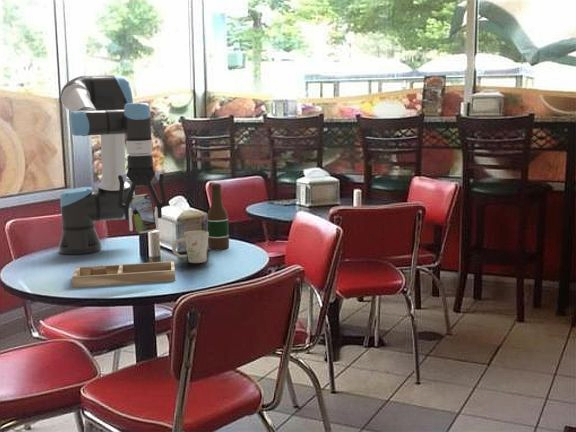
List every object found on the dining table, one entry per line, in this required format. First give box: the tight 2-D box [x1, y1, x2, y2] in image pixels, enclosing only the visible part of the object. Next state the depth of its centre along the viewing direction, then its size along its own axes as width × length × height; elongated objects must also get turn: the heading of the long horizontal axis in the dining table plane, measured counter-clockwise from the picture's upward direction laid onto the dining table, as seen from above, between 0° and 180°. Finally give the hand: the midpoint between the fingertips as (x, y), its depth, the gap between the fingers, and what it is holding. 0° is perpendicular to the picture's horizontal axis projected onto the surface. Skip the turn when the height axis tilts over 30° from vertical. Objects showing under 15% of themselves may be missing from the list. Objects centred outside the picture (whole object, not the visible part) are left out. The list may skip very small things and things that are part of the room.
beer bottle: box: [206, 183, 230, 251], centre depth 263 cm, size 8×8×24 cm
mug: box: [171, 229, 209, 264], centre depth 242 cm, size 8×13×10 cm, turn 107°
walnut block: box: [90, 265, 107, 275], centre depth 217 cm, size 4×4×4 cm
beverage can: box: [131, 193, 156, 234], centre depth 216 cm, size 6×7×12 cm
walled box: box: [71, 260, 176, 288], centre depth 219 cm, size 13×30×4 cm, turn 100°
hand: (144, 229), depth 217 cm, fingers closed on beverage can, 7 cm apart
